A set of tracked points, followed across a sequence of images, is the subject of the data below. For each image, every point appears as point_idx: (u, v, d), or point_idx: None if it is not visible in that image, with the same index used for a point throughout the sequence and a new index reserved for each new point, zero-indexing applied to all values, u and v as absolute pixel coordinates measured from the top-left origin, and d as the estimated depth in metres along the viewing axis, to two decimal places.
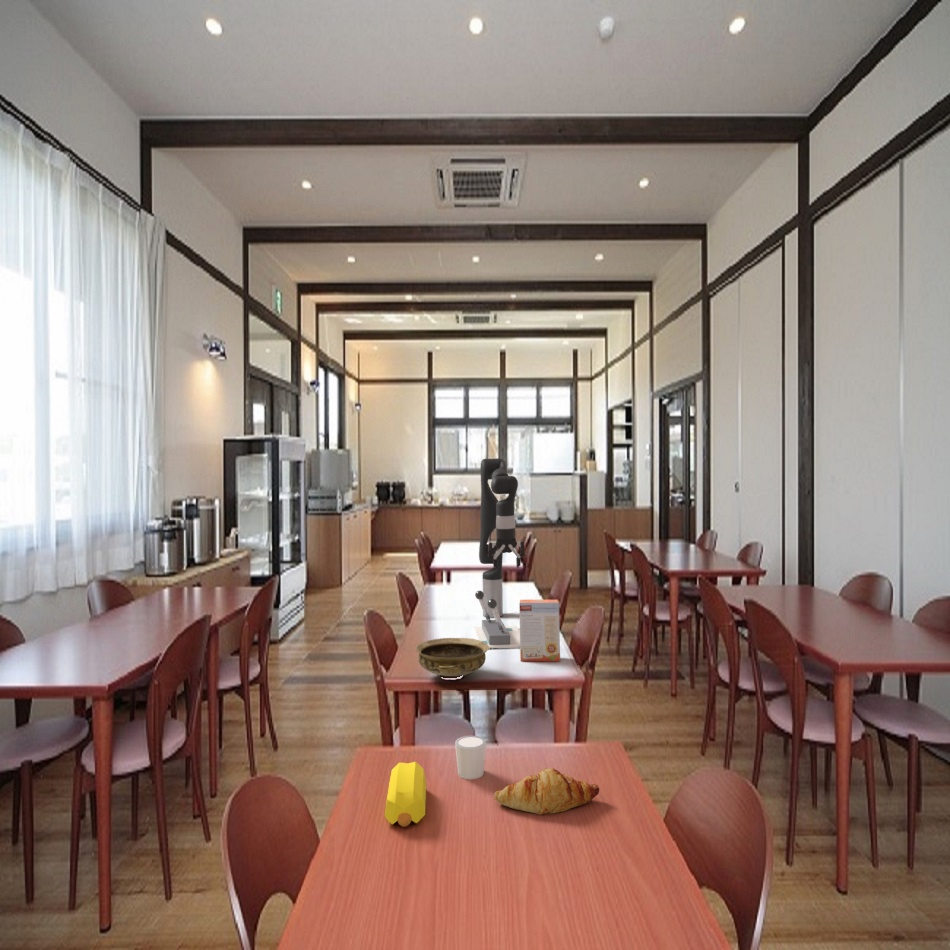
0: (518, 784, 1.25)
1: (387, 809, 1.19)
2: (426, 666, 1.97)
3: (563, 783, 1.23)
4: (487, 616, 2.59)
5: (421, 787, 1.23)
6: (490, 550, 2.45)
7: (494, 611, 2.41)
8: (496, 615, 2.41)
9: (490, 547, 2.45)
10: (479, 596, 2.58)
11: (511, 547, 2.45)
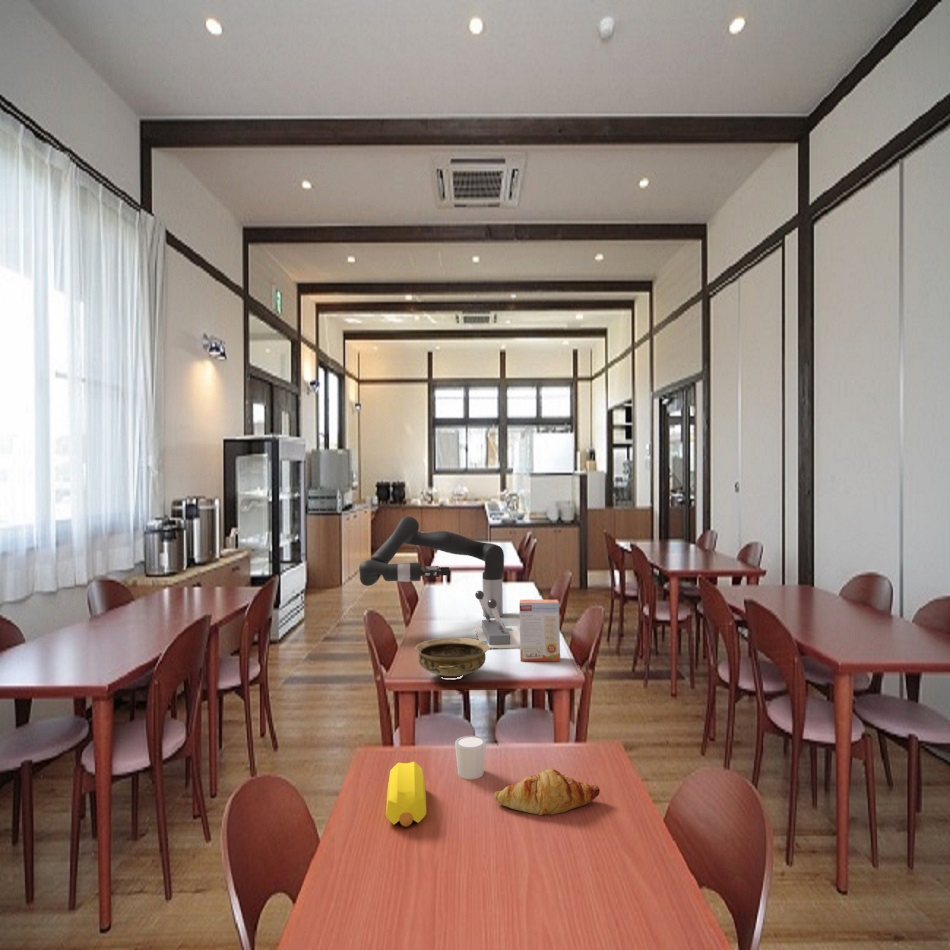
0: (518, 784, 1.25)
1: (388, 809, 1.19)
2: (426, 666, 1.97)
3: (563, 783, 1.23)
4: (487, 616, 2.59)
5: (422, 787, 1.23)
6: None
7: (494, 611, 2.41)
8: (496, 615, 2.41)
9: None
10: (479, 596, 2.58)
11: None
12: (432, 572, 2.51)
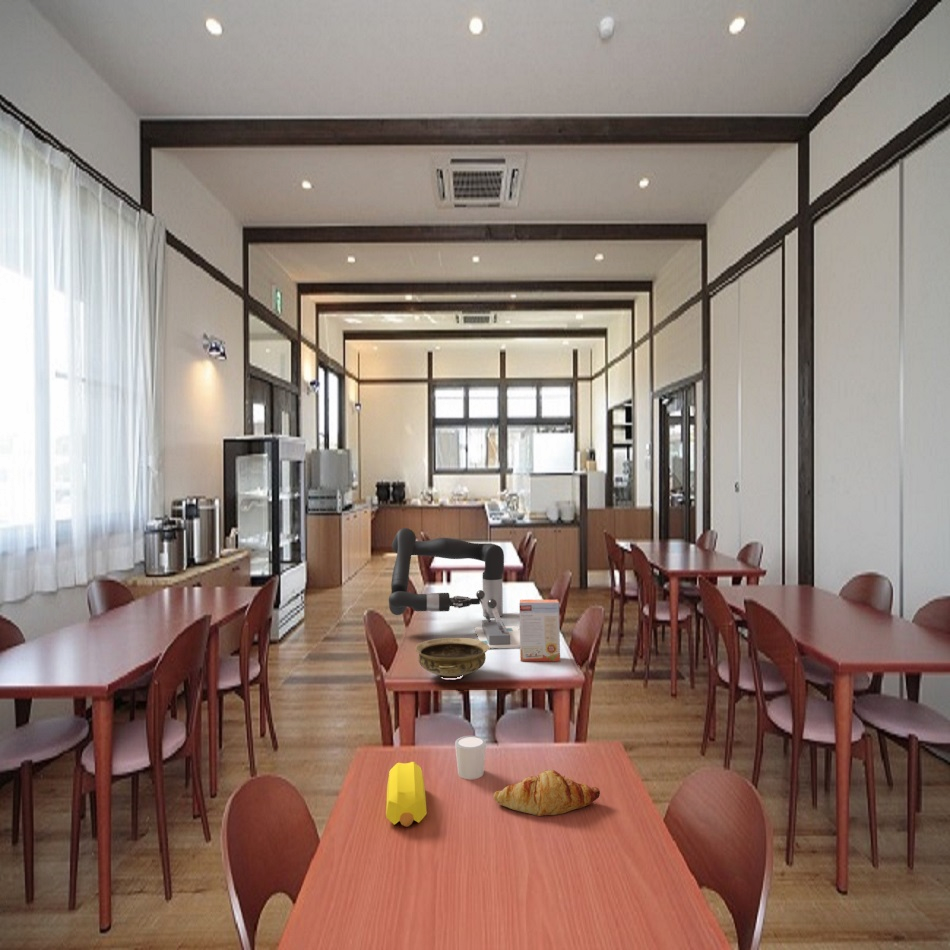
0: (517, 785, 1.25)
1: (389, 809, 1.19)
2: (426, 666, 1.97)
3: (562, 785, 1.22)
4: (487, 616, 2.59)
5: (422, 786, 1.23)
6: None
7: (494, 611, 2.41)
8: (496, 615, 2.41)
9: None
10: (480, 596, 2.58)
11: None
12: (464, 602, 2.54)
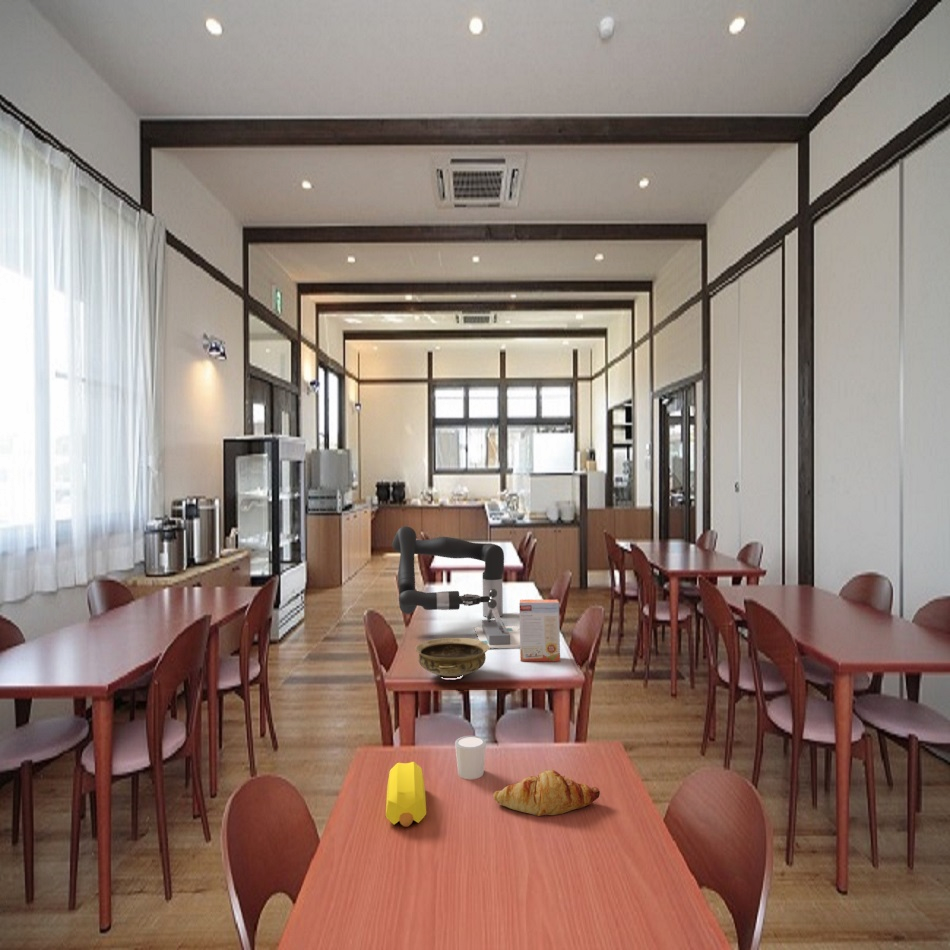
0: (517, 785, 1.25)
1: (388, 809, 1.19)
2: (426, 666, 1.97)
3: (562, 785, 1.22)
4: (489, 616, 2.59)
5: (421, 787, 1.23)
6: None
7: (494, 611, 2.41)
8: (496, 615, 2.41)
9: None
10: (492, 594, 2.58)
11: None
12: (474, 600, 2.55)
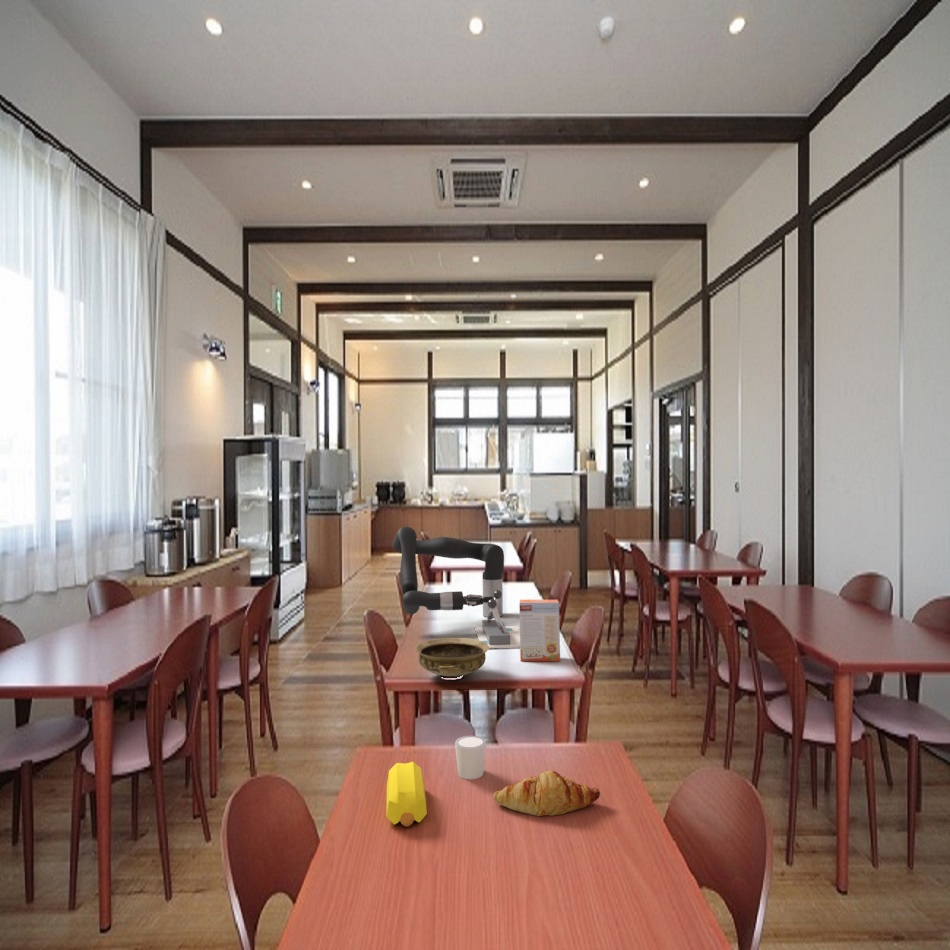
0: (517, 785, 1.25)
1: (389, 809, 1.19)
2: (426, 666, 1.97)
3: (562, 785, 1.22)
4: (490, 616, 2.59)
5: (422, 786, 1.23)
6: None
7: (494, 611, 2.41)
8: (496, 615, 2.41)
9: None
10: (497, 595, 2.58)
11: None
12: (478, 600, 2.55)
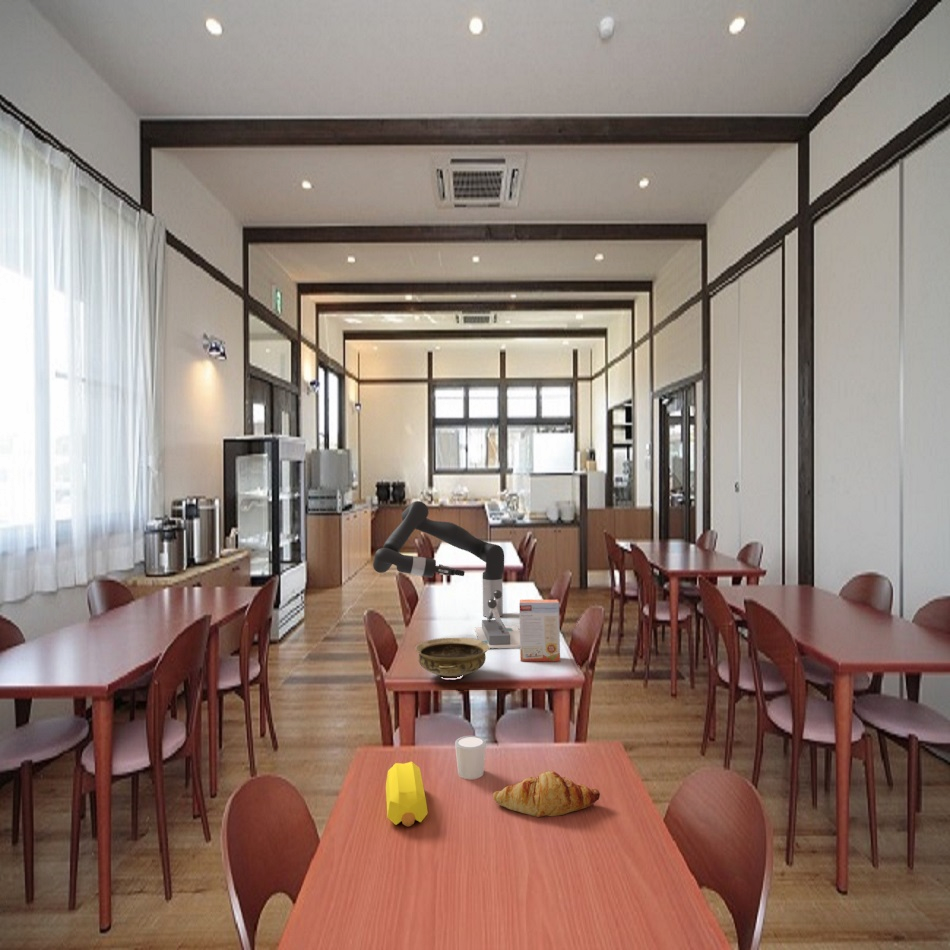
0: (517, 785, 1.24)
1: (390, 810, 1.19)
2: (426, 666, 1.97)
3: (561, 786, 1.22)
4: (490, 616, 2.59)
5: (422, 786, 1.23)
6: None
7: (494, 611, 2.41)
8: (496, 615, 2.41)
9: None
10: (497, 595, 2.58)
11: (441, 574, 2.55)
12: (450, 570, 2.53)
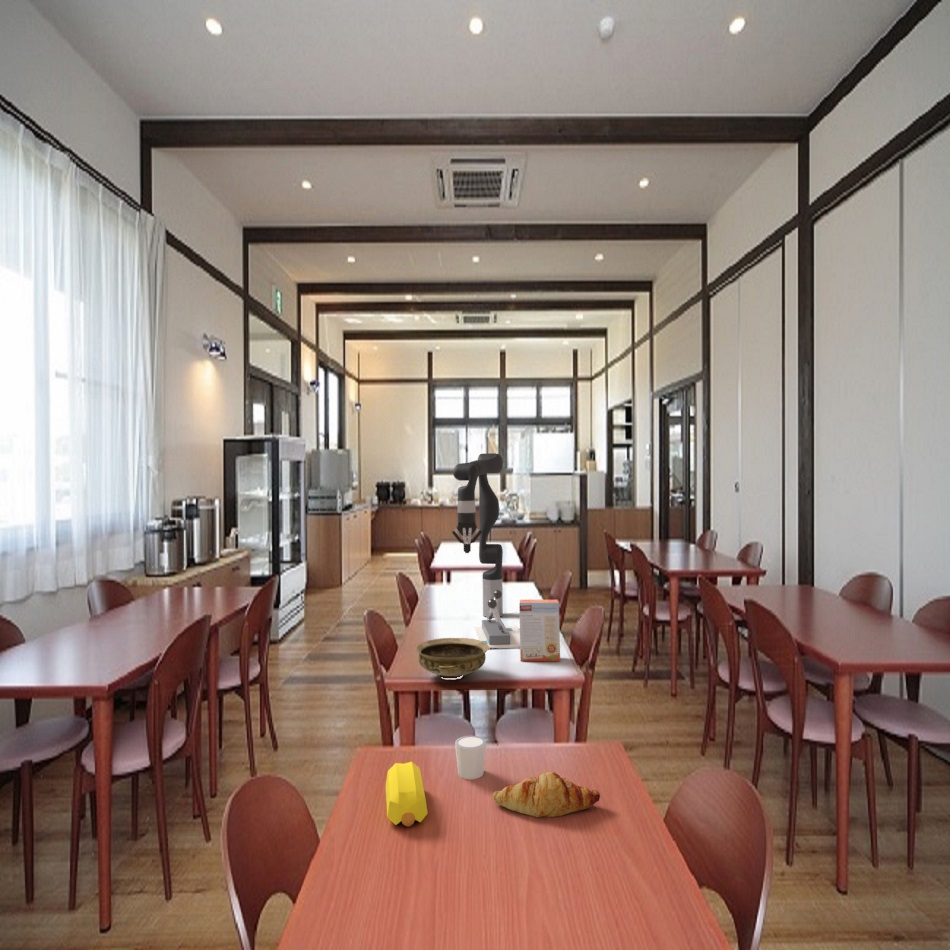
0: (516, 786, 1.24)
1: (390, 810, 1.19)
2: (426, 666, 1.97)
3: (561, 787, 1.22)
4: (490, 616, 2.59)
5: (422, 786, 1.23)
6: (457, 537, 2.60)
7: (494, 611, 2.41)
8: (496, 615, 2.41)
9: (455, 534, 2.60)
10: (497, 595, 2.58)
11: (470, 531, 2.60)
12: None
